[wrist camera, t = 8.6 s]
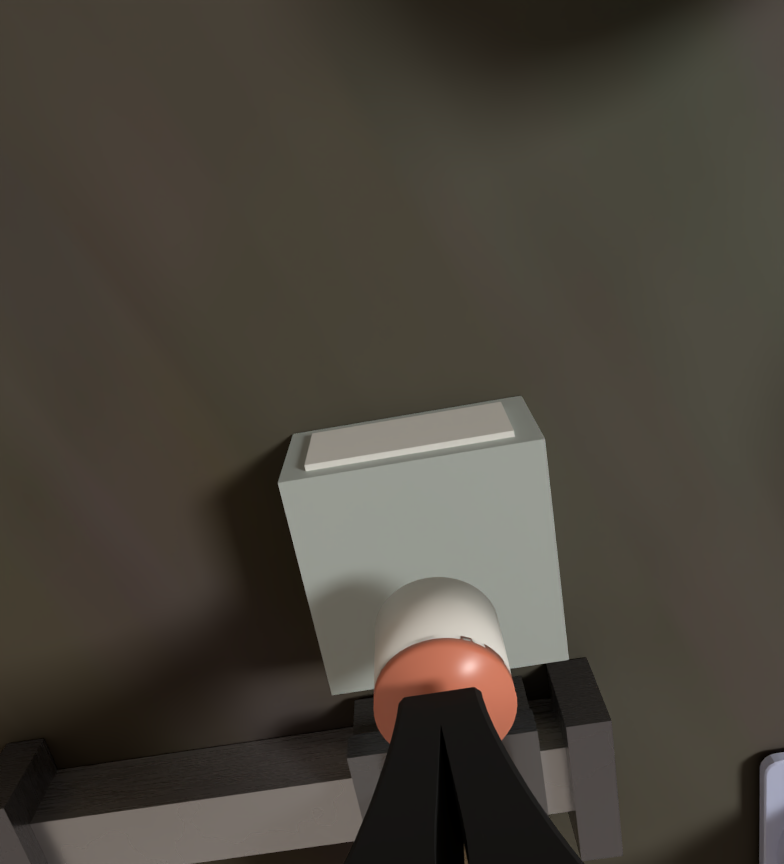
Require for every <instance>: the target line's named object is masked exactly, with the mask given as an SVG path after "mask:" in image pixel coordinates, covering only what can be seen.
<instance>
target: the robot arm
mask: <svg viewBox="0 0 784 864" xmlns="http://www.w3.org/2000/svg"><path fill="white" fill-rule="evenodd" d="M464 846H465V851H466V856H467V860H468V864H584V863H583V862H582V860H581V859H580V858H579V857H578V855H577V854H576V853H575V852H574V850H573V849H572V848H571V847H570V845H569V844H568V843H567V841H566V840H565V839H564V837H563V836H562V835H561V833H560V832H559V831H558V829H557V828H556V827H555V825H554V824H553V822H552V821H551V820H550V818H549V817H548V815H547V814H546V812H545V811H544V810H543V808H542V807H541V805H540V804H539V802H538V801H537V799H536V798H535V796H534V795H533V793H532V792H531V790H530V789H529V787H528V786H527V784H526V782H525V781H524V779H523V777H522V776H521V774H520V772H519V771H518V769H517V767H516V766H515V764H514V762H513V761H512V759H511V757H510V756H509V754H508V752H507V750H506V748H505V747H504V745H503V743H502V741H501V739H500V737H499V735H498V733H497V731H496V729H495V727H494V725H493V723H492V720H491V718H490V716H489V713H488V711H487V708H486V705H485V703H484V700H483V696H482V692H481V691H480V690H478V689H477V688H475V687H470V688H463V689H456V690H450V691H443V692H436V693H430V694H423V695H416V696H409V697H404V698H403V699H402V700H401V701H400V702H399V704H398V710H397V716H396V721H395V725H394V730H393V734H392V738H391V741H390V745H389V748H388V752H387V755H386V758H385V762H384V765H383V768H382V771H381V773H380V776H379V779H378V782H377V785H376V788H375V791H374V794H373V797H372V799H371V802H370V805H369V807H368V810H367V812H366V814H365V817H364V819H363V822H362V824H361V826H360V829H359V831H358V834H357V836H356V838H355V841H354V843H353V846H352V848H351V850H350V852H349V854H348V857H347V859H346V861H345V863H344V864H465V860H464ZM759 864H784V752H780V753H774V754H771V755H769V756H767V757H765V758H764V760H763V761H762V762H761V765H760V822H759Z"/></svg>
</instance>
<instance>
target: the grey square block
mask: <svg viewBox="0 0 784 864" xmlns="http://www.w3.org/2000/svg"><path fill="white" fill-rule="evenodd" d="M278 486H279V490H280V494H281V498H282V502H283V506H284V509H285V513H286V517H287V521H288V525H289V529H290V533H291V537H292V541H293V545H294V549H295V553H296V556H297V560H298V564H299V568H300V572H301V576H302V580H303V584H304V588H305V592H306V596H307V600H308V603H309V607H310V611H311V615H312V619H313V623H314V627H315V631H316V635H317V639H318V643H319V647H320V650H321V654H322V658H323V662H324V666H325V670H326V674H327V678H328V682H329V686H330V690H331V694H332V695H337V694H343V693H350V692H357V691H363V690H370V689H374V654H375V623H376V618H377V616H378V613H379V611H380V609H381V607H382V605H383V604H384V602H385V601H386V600H387V599H388V598H389V597H390V596H391V595H392V594H393V593H394V592H395V591H396V590H398V589H399V588H401V587H403V586H404V585H406V584H408V583H411V582H413V581H416V580H419V579H424V578H430V577H447V578H454V579H458V580H461V581H464V582H466V583H469V584H471V585H472V586H474V587H476V588H477V589H479V590H480V591H481V592H482V593H483V594H484V595H486V596H487V598H488V599H489V600H490V601H491V603H492V605H493V606H494V608H495V611H496V613H497V617H498V621H499V625H500V629H501V633H502V637H503V642H504V646H505V650H506V654H507V658H508V662H509V667H510V669H511V668H518V667H524V666H531V665H538V664H545V663H551V662H558V661H565V660H569V656H568V647H567V637H566V628H565V619H564V610H563V601H562V591H561V582H560V573H559V564H558V555H557V545H556V536H555V527H554V518H553V509H552V499H551V490H550V481H549V472H548V463H547V453H546V444H545V438H544V436H543V434H542V433H541V431H540V429H539V427H538V425H537V423H536V422H535V420H534V418H533V416H532V414H531V412H530V411H529V409H528V407H527V405H526V403H525V402H524V400H523V398H522V396H516V397H510V398H504V399H499V400H493V401H487V402H481V403H475V404H469V405H463V406H457V407H451V408H445V409H439V410H433V411H427V412H421V413H415V414H410V415H404V416H398V417H392V418H386V419H380V420H374V421H368V422H362V423H356V424H350V425H344V426H338V427H332V428H327V429H321V430H315V431H309V432H303V433H297V434H293V436H292V439H291V442H290V445H289V449H288V452H287V455H286V458H285V461H284V465H283V468H282V471H281V474H280V477H279V481H278Z"/></svg>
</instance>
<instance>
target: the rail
mask: <svg viewBox="0 0 784 864" xmlns="http://www.w3.org/2000/svg"><path fill="white" fill-rule="evenodd" d="M546 666H547V674H548V682H549V690H550V698H546V699H540V700H533V701H528V704H529V708H530V709H532V712H533V716H534V719H535V723H536V727H537V731H538V738H539V746H540V753H541V761H542V768H543V776H544V783H545V791H546V798H547V806H548V813H549V814H554V813H561V812H568V814H569V817H570V821H571V825H572V828H573V832H574V836H575V839H576V843H577V846H578V850H579V854H580V857H581V860H582V861H587V860H595V859H602V858H610V857H617V856H623V849H622V837H621V826H620V814H619V803H618V791H617V779H616V768H615V756H614V745H613V733H612V722H611V718H610V716H609V713H608V711H607V708H606V706H605V703H604V701H603V698H602V696H601V693H600V691H599V688H598V686H597V683H596V680H595V678H594V675H593V673H592V670H591V668H590V665H589V663H588V660H587V658H580V659H573V660H566V661H559V662H553V663H546ZM350 735H353V727H349V728H342V729H335V730H328V731H321V732H314V733H308V734H301V735H294V736H287V737H280V738H274V739H267V740H260V741H253V742H246V743H239V744H233V745H226V746H219V747H212V748H205V749H199V750H192V751H185V752H178V753H171V754H164V755H158V756H151V757H144V758H137V759H130V760H123V761H117V762H110V763H103V764H96V765H89V766H83V767H76V768H69V769H62V770H58V769H57V767H56V765H55V763H54V760H53V758H52V756H51V753H50V751H49V749H48V747H47V744H46V742H45V740H44V738H43V739H36V740H30V741H23V742H16V743H9V744H6V746H5V747H4V749H3V751H2V752H1V754H0V864H192V863H200V862H207V861H214V860H221V859H229V858H236V857H243V856H250V855H258V854H265V853H272V852H279V851H286V850H294V849H301V848H308V847H315V846H323V845H330V844H337V843H344V842H352V841H355V838H356V836H357V834H358V831H359V829H360V826H361V824H362V822H363V820H362V816H361V812H360V808H359V804H358V800H357V796H356V793H355V789H354V785H353V781H352V777H351V773H350V769H349V765H348V761H347V747H348V736H350Z"/></svg>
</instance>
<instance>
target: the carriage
mask: <svg viewBox="0 0 784 864" xmlns="http://www.w3.org/2000/svg"><path fill="white" fill-rule="evenodd" d="M512 679H513V683H514V687H515V692H516V696H517V713H516V716H515V720H514V722H513V725H512V727H511V728H510V730H509V732H508V733H507V735H506V736H505V737H504V738H503V739H502V740H501V741H502V743H503V745H504V747H505V748H506V750H507V752H508V754H509V756H510V757H511V759H512V761H513V762H514V764H515V766H516V767H517V769H518V771H519V772H520V774H521V776H522V777H523V779H524V781H525V782H526V784H527V786H528V787H529V789H530V790H531V792H532V793H533V795H534V796H535V798H536V799H537V801H538V802H539V804H540V805H541V807H542V808H543V810H544V811H545V812H546V814H547V815H548V817H549V813H548V806H547V798H546V791H545V783H544V776H543V768H542V761H541V753H540V746H539V738H538V731H537V727H536V723H535V719H534V716H533V712H532V709H530V708H529V704H528V700H527V696H526V692H525V689H524V685H523V681H522V677H521V676H515V677H512ZM373 709H374V697H373V698H367V699H360V700H355V705H354V724H353V735H350V736H348V747H347V761H348V765H349V769H350V773H351V777H352V781H353V785H354V789H355V793H356V796H357V800H358V804H359V808H360V812H361V816H362V820H363V819H364V817H365V814H366V812H367V810H368V807H369V805H370V802H371V799H372V797H373V794H374V791H375V788H376V785H377V782H378V779H379V776H380V773H381V771H382V768H383V765H384V762H385V758H386V755H387V752H388V748H389V745H390V744H389V743H388V742H387V741H386V740H385V738H384V737H383V736H382V734H381V733H380V731H379V729H378V727H377V725H376V721H375V718H374V711H373ZM464 860H465V864H468V860H467V856H466V851H465V846H464Z"/></svg>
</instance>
